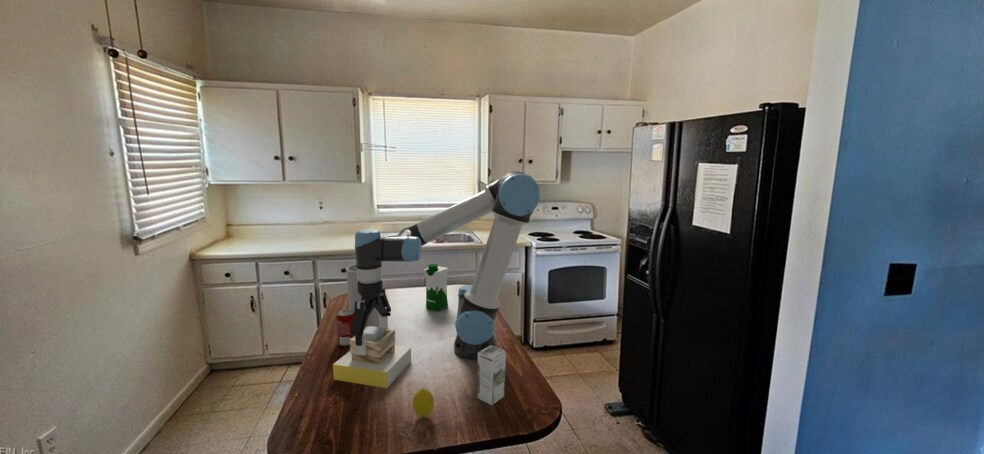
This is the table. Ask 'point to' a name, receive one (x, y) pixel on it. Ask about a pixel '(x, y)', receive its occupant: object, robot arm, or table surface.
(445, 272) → the milk carton
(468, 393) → the table surface
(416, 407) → the lemon
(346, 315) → the soda can
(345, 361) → the dock
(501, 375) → the syrup box
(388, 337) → the wooden crate with cube
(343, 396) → the table surface
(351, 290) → the cylinder vase
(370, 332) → the cargo block
